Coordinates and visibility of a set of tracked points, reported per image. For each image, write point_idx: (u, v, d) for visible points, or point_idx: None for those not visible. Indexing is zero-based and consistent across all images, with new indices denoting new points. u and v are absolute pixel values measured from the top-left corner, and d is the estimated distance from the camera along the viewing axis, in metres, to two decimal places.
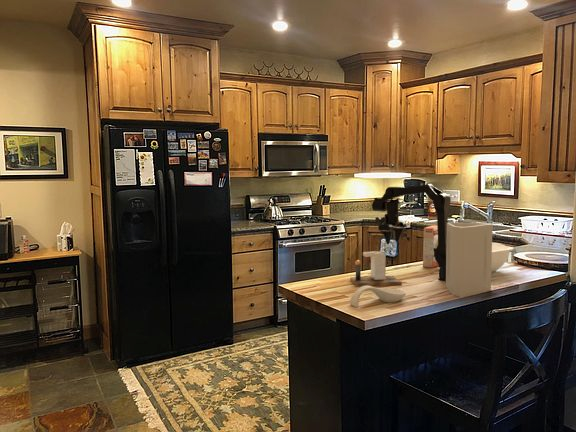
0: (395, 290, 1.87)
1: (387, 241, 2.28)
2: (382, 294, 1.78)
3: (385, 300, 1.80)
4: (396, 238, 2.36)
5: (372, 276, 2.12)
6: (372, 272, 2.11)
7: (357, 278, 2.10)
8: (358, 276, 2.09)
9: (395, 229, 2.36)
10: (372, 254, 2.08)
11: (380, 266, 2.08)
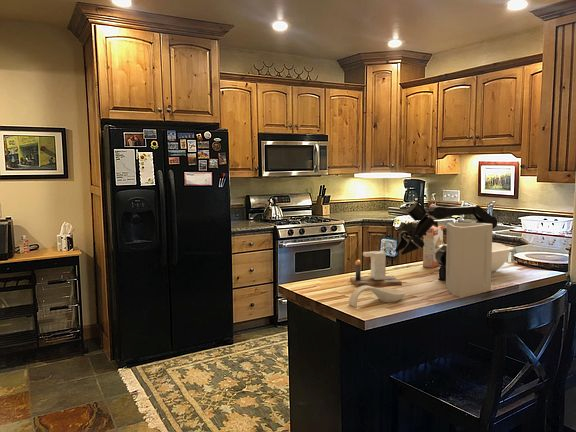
0: (395, 290, 1.87)
1: (404, 252, 2.07)
2: (381, 294, 1.78)
3: (384, 300, 1.80)
4: (398, 248, 2.15)
5: (372, 276, 2.12)
6: (372, 272, 2.11)
7: (357, 278, 2.10)
8: (358, 276, 2.09)
9: (402, 239, 2.16)
10: (372, 254, 2.08)
11: (380, 266, 2.08)
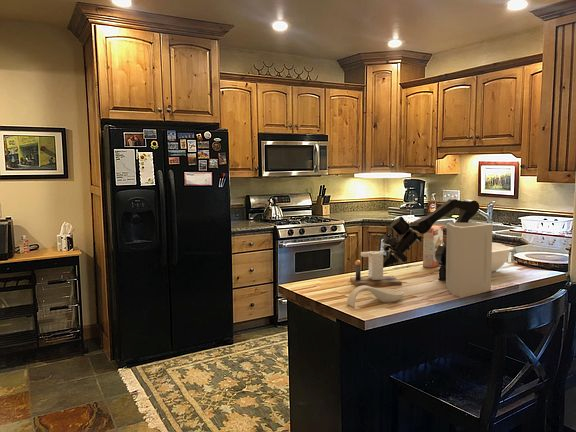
0: (394, 290, 1.87)
1: (384, 264, 2.10)
2: (379, 294, 1.78)
3: (382, 300, 1.80)
4: None
5: (370, 276, 2.11)
6: (370, 272, 2.11)
7: (357, 278, 2.10)
8: (358, 276, 2.09)
9: None
10: (370, 254, 2.08)
11: (377, 266, 2.08)
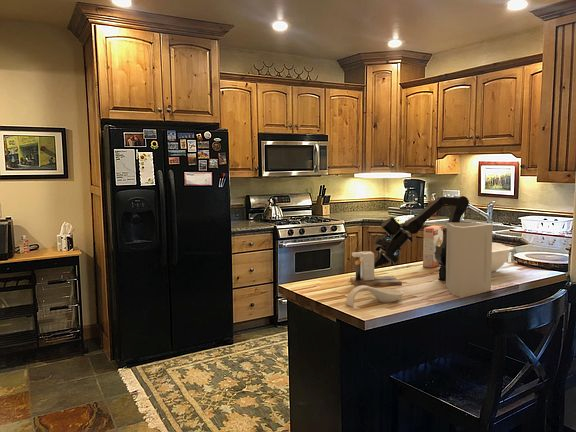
0: (393, 290, 1.87)
1: (375, 265, 2.10)
2: (378, 294, 1.78)
3: (382, 300, 1.80)
4: None
5: (361, 276, 2.11)
6: (361, 273, 2.11)
7: (357, 278, 2.10)
8: (358, 276, 2.09)
9: None
10: (361, 254, 2.08)
11: (368, 267, 2.08)
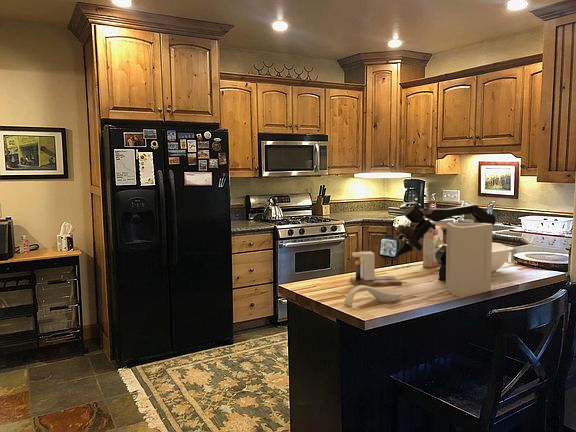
0: (393, 290, 1.87)
1: (399, 253, 2.11)
2: (377, 294, 1.78)
3: (381, 300, 1.80)
4: None
5: (361, 276, 2.11)
6: (361, 273, 2.11)
7: (357, 278, 2.10)
8: (358, 276, 2.09)
9: None
10: (361, 254, 2.08)
11: (369, 267, 2.08)
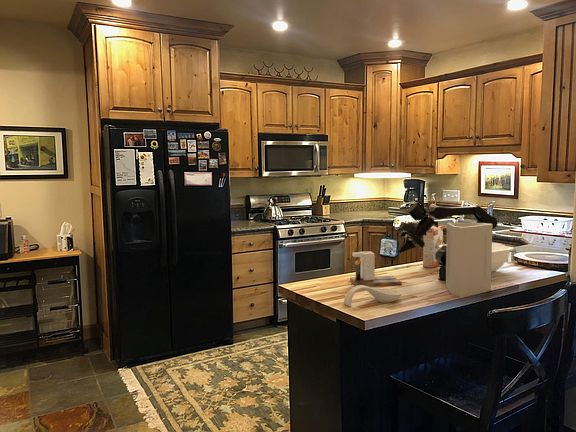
0: (392, 291, 1.86)
1: (401, 250, 2.11)
2: (376, 294, 1.78)
3: (380, 300, 1.80)
4: None
5: (361, 276, 2.11)
6: (361, 273, 2.11)
7: (357, 278, 2.10)
8: (358, 276, 2.09)
9: None
10: (361, 254, 2.08)
11: (369, 267, 2.08)
